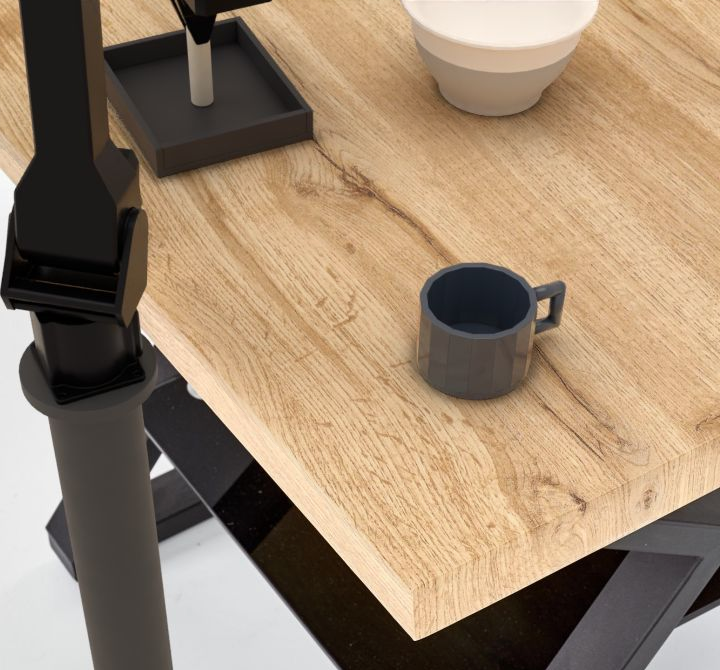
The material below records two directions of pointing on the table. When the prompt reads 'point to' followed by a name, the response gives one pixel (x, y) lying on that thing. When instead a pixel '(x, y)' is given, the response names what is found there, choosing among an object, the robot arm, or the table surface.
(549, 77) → the bowl
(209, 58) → the marker
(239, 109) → the tray
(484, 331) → the mug
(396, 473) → the table surface
